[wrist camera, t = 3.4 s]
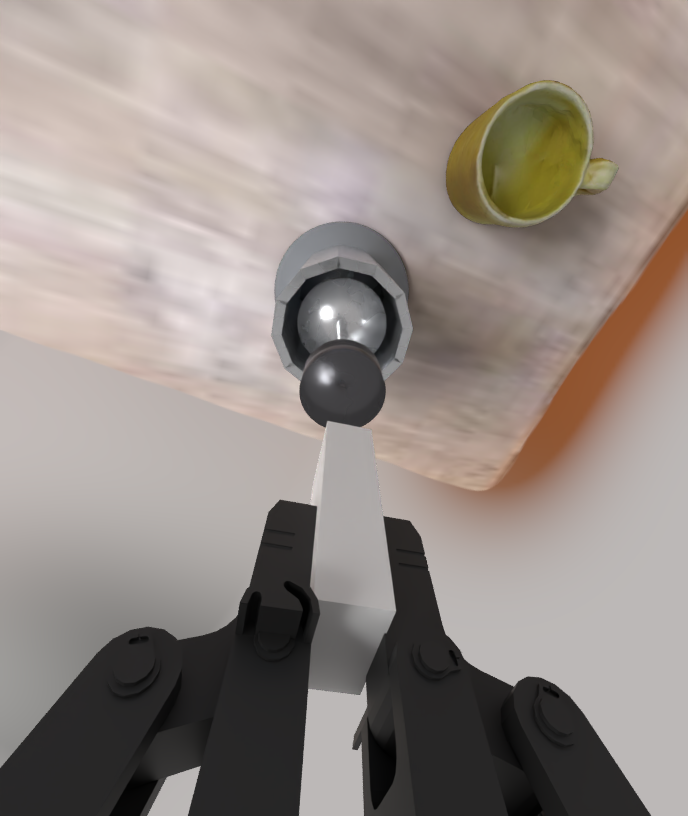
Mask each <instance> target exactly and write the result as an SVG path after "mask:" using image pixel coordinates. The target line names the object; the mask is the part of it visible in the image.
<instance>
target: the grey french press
mask: <svg viewBox="0 0 688 816" xmlns="http://www.w3.org/2000/svg"><path fill="white" fill-rule="evenodd" d="M335 277H349V278H353V279H357V280H359V281H361V282H363V283H365V284H366V285H368V286H369V287H370V288H371V289H372V290H373V291H374V292H375V293H376V294H377V296H378V297H379V299H380V301H381V303H382V305H383V307H384V310H385V314H386V331H385V335H384V338H383V341H382V343H381V345H380V346H379V348H378V349H377V350H376V352H375V353H374V355H375V356H376V358H377V360H378V362H379V364H380V368H381V371H382V375H383V379H384V381H385V380H386V379H387V378H388V377H389V376H390V375H391V374H392V373H393V372H394V371H395V370H396V369H397V368H398V367H399V366H400V365H401V364H402V363H403V361H404V357H405V354H406V351H407V348H408V344H409V341H410V338H411V334H412V331H413V327H412V322H411V318H410V314H409V310H408V306H407V301H406V297H405V293H404V292H403V291H402V289H401V288H400V287H399V286H398V285H397V284H396V282H395V281H394V280H393V279H392V278H391V277H390V275H389V274H388V273H387V272H386V271H385V270H384V269H383V268H382V267H381V266H380V265H379V264H378V263H377V262H376V260H375V259H374V258H373V257H372V256H371V255H370V254H369V253H368V252H367V251H366V250H361V249H358V248H355V247H351V246H345V245H340V244H338V245H335V246H332V247H328V248H325V249H323V250H321V251H318V252H315V253H313V254H312V255H311V257H310V258H309V259H308V260H307V262H306V263H305V264H304V265H303V267H302V268H301V269H300V270H299V271H298V273H297V274H296V275H295V276H294V278H293V279H292V280H291V281H290V283H289V284H288V285H287V286H286V288H285V289H284V290H283V291H282V293H281V294H280V295H279V296H278V298H277V299H276V305H275V312H274V319H273V327H272V334H271V336H272V339H273V341H274V344H275V346H276V348H277V351H278V353H279V356H280V358H281V361H282V363H283V365H284V368H285V369H286V370H287V371H288V372H290V373H291V374H292V375H293V376H295V377H296V378H297V379H298V380H300V381H301V379H302V375H303V371H304V367H305V364H306V361H307V359H308V358H309V356H310V355H311V354H310V353H309V352H308V351H307V349H306V348H305V347H304V345H303V343H302V341H301V339H300V336H299V333H298V325H297V320H298V313H299V309H300V307H301V304H302V302H303V300H304V298H305V297H306V295H307V294H308V292H309V291H310V290H311V289H312V288H313V287H315V286H316V285H317V284H319V283H321V282H322V281H325V280H327V279H330V278H335Z"/></svg>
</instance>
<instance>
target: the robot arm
mask: <svg viewBox="0 0 688 816" xmlns="http://www.w3.org/2000/svg"><path fill="white" fill-rule="evenodd" d="M424 554H425V552H424V548H423V544H422V540H421V537H420V535H419V533H418V532H417V531H416V529H415V528H414V526H413V525H412V524H411V522H410V521H408V520H402V519H396V518H390V517H385V516H383V512H382V504H381V497H380V489H379V482H378V474H377V467H376V460H375V452H374V445H373V438H372V430H371V429H367V428H362V427H356V426H351V425H346V424H341V423H336V422H331V421H327V425H326V430H325V434H324V438H323V443H322V447H321V451H320V456H319V460H318V464H317V469H316V473H315V477H314V482H313V487H312V495H311V504H310V505H308V504H302V503H296V502H290V501H284V500H279V502H278V503H277V504H276V505H275V506H274V507H273V508H272V509H271V510H270V511H269V513H268V516H267V521H266V524H265V529H264V532H263V536H262V540H261V544H260V548H259V551H258V555H257V559H256V563H255V567H254V571H253V575H252V579H251V583H250V587H249V588H247V589H246V591H245V593H244V595H243V597H242V599H241V601H240V605H239V611H238V615H237V617H236V618H235V619H234V620H232V621H231V622H230V623H229V624H228V625H227V626H225V627H223V628H222V629H220V630H218V631H216V632H213V633H210V634H206V635H203V636H198V637H193V638H187V639H182V640H177V639H176V638H175V637H174V636H173V635H171V634H170V633H168V632H167V631H165V630H164V629H158V628H152V627H145V628H139V629H134V630H130V631H128V632H126V633H124V634H122V635H120V636H118V637H116V638H114V639H112V640H111V641H110V642H109V643H108V644H107V645H106V646H105V647H103V648H102V649H101V650H100V651H99V652H98V653H97V654H96V655H95V656H94V658H93V659H92V660H91V661H90V662H89V663H88V665H87V666H86V667H85V668H84V669H83V671H82V672H81V673H80V674H79V675H78V677H77V678H76V679H75V680H74V681H73V682H72V684H71V685H70V686H69V687H68V688H67V690H66V691H65V692H64V693H63V694H62V696H61V697H60V698H59V699H58V700H57V702H56V703H55V704H54V705H53V706H52V707H51V709H50V710H49V711H48V713H46V715H45V716H44V717H43V718H42V719H41V720H40V722H39V723H38V724H37V725H36V726H35V728H34V729H33V730H32V731H31V732H30V734H29V735H28V736H27V737H26V738H25V740H24V741H23V742H22V743H21V744H20V745H19V747H18V748H17V749H16V750H15V751H14V753H13V754H12V755H11V756H10V757H9V758H8V760H7V761H6V762H5V763H4V765H3V766H2V767H1V768H0V816H147V815H148V813H149V811H150V809H151V807H152V805H153V803H154V801H155V799H156V797H157V795H158V793H159V791H160V789H161V787H162V785H163V784H164V782H165V779H166V778H167V777H168V776H171V775H174V774H177V773H180V772H183V771H186V770H189V769H192V768H195V767H199V766H201V767H200V771H199V775H198V779H197V783H196V787H195V791H194V794H193V798H192V802H191V806H190V810H189V814H188V816H299V806H300V792H301V778H302V764H303V750H304V736H305V723H306V710H307V694H308V689H316V690H324V691H333V692H340V693H348V694H356V695H360V694H361V692H362V689H363V687H364V685H365V682H366V688H367V709H366V711H365V713H364V715H363V717H362V720H361V722H360V724H359V726H358V728H357V731H356V733H355V735H354V741H353V748H352V749H354V750H358V748H359V746H360V744H361V742H362V765H363V767H362V768H363V795H364V796H363V798H364V816H651V815H650V813H649V812H648V811H647V809H646V808H645V806H644V804H643V803H642V801H641V800H640V798H639V797H638V795H637V794H636V793H635V791H634V789H633V788H632V786H631V785H630V783H629V782H628V780H627V779H626V777H625V776H624V774H623V773H622V771H621V770H620V768H619V767H618V765H617V764H616V762H615V761H614V759H613V758H612V756H611V755H610V753H609V751H608V750H607V748H606V747H605V746H604V744H603V742H602V741H601V739H600V738H599V736H598V735H597V733H596V732H595V730H594V729H593V727H592V726H591V724H590V723H589V721H588V720H587V718H586V717H585V715H584V714H583V712H582V711H581V710H580V709H579V708H578V706H577V705H576V704H575V702H574V701H573V700H572V699H571V698H570V696H568V695H567V694H566V693H565V692H563V691H562V690H561V689H560V688H559V687H557V686H556V685H555V684H553V683H551V682H548V681H546V680H544V679H542V678H539V677H526V678H524V679H522V680H520V681H518V683H517V684H516V685H515V686H514V687H513V686H511V685H509V684H507V683H505V682H503V681H501V680H499V679H497V678H495V677H493V676H491V675H489V674H487V673H484V672H482V671H480V670H479V669H477V668H475V667H474V666H472V665H471V664H469V663H468V662H467V661H466V660H464V658H463V656H462V654H461V652H460V650H459V649H458V647H457V646H456V645H455V644H454V642H453V641H452V640H451V639H450V638H449V637H448V636H447V635H446V634H445V631H444V629H443V625H442V621H441V617H440V613H439V609H438V605H437V601H436V597H435V593H434V589H433V585H432V581H431V577H430V573H429V571H428V565H427V560H426V557H425V556H424Z"/></svg>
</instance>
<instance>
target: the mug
mask: <svg viewBox="0 0 688 816" xmlns="http://www.w3.org/2000/svg"><path fill="white" fill-rule="evenodd" d="M593 143H594V142H593V125H592V120H591V115H590V111H589V109H588V107H587V105H586V103H585V102H584V100H583V99H582V98H581V96H580V95H579V94H577V93H576V92H575V91H574V90H573V89H572V88H571V87H569V86H567V85H565V84H563V83H560V82H557V81H551V80H544V81H539V82H535V83H531V84H528V85H526V86H525V87H523V88H521V89H519V90H518V91H516V92H514V93H512V94H510V95H507V96H506V97H504V98H502V99H501V100H500V101H498V102H497V103H496V104H495V105H494V106H492V107H491V108H489V109H488V110H487V111H486V112H485V113H483V114H482V115H481V116H479V117H478V118H477V119H476V120H475V121H473V122H472V123H471V124H470V125H469V126H468V127H467V128H466V129H465V130H464V131H463V133H462V134H461V135H460V137H459V138H458V139H457V141H456V142H455V144H454V147H453V149H452V151H451V153H450V156H449V160H448V164H447V170H446V187H447V192H448V195H449V198H450V200H451V202H452V204H453V206H454V207H455V208H456V210H457V211H458V212H459V213H460V214H461V215H463V216H464V217H465V218H467V219H469V220H471V221H473V222H476V223H480V224H496V225H501V226H505V227H527V226H532V225H536V224H539V223H541V222H543V221H545V220H547V219H549V218H551V217H552V216H554V215H556V214H557V213H559V212H560V211H561V210H562V209H563V208H564V207H565V206H566V205H567V204H568V203H569V202H570V201H571V199H572V198H573V197H574V196H577V195H595V194H598V193H600V192H602V191H604V190H606V189H607V188H608V187H609V186H610V184H611V182H612V180H613V179H614V177H615V175H616V173H617V171H618V168H619V167H618V165H617V164H615V163H613V162H612V161H610V160H606V159H603V158H596V159H590V156H591V152H592V148H593Z"/></svg>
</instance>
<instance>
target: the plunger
mask: <svg viewBox="0 0 688 816" xmlns="http://www.w3.org/2000/svg"><path fill="white" fill-rule="evenodd" d="M297 325H298V333H299V336H300V339H301V341H302V343H303V345H304V347H305V348H306V349H307V351H308V352H309V353H310V354H311V355H310V356H309V358H308V359H307V361H306V364H305V367H304V371H303V375H302V379H301V383H300V400H301V403H302V406H303V408H304V410H305V411H306V413H307V414H308V415H309V416H310V418H311V419H313V420H314V421H315V422H316V423H318V424H319V425H321V426H323V427H326V425H327V421H331V422H336V423H341V424H346V425H351V426H356V427H362V426H364V425H366V424H367V423H369V422H370V421H371V420H372V419H374V418H375V416H376V415H377V414H378V413H379V411H380V410H381V408H382V406H383V403H384V400H385V393H386V390H385V383H384V379H383V375H382V371H381V368H380V364H379V362H378V360H377V358H376V356H375V355H374V353H375V352H376V350H377V349H378V348H379V346H380V345H381V343H382V341H383V338H384V335H385V331H386V314H385V310H384V307H383V305H382V303H381V301H380V299H379V297H378V296H377V294H376V293H375V292H374V291H373V290H372V289H371V288H370V287H369V286H368V285H366V284H365V283H363V282H361V281H359V280H357V279H353V278H349V277H335V278H330V279H327V280H325V281H322V282H321V283H319V284H317V285H316V286H315V287H313V288H312V289H311V290H310V291H309V292H308V294H307V295H306V297H305V298H304V300H303V302H302V304H301V307H300V309H299V313H298V320H297Z"/></svg>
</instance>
